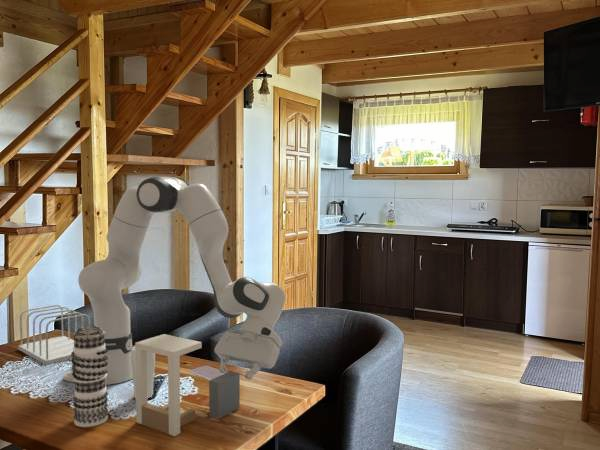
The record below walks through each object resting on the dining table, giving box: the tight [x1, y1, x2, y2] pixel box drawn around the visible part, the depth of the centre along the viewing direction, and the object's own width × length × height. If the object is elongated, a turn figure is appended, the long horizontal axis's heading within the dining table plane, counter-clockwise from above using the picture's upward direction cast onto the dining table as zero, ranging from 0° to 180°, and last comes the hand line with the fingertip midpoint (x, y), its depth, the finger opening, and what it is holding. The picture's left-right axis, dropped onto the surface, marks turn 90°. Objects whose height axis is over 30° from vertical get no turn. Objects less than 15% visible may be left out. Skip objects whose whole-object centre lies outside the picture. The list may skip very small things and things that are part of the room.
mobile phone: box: [189, 365, 225, 381], centre depth 177 cm, size 8×1×15 cm
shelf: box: [134, 333, 203, 437], centre depth 141 cm, size 12×14×22 cm
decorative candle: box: [70, 325, 109, 428], centre depth 141 cm, size 9×9×25 cm
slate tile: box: [208, 370, 241, 420], centre depth 147 cm, size 9×3×10 cm, turn 148°
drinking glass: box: [131, 345, 156, 400], centre depth 157 cm, size 7×7×15 cm
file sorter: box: [17, 304, 92, 366], centre depth 199 cm, size 25×17×16 cm
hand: (234, 375), depth 150 cm, fingers open, 8 cm apart
